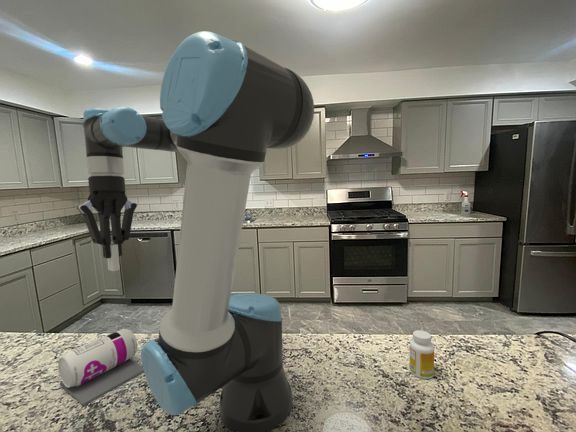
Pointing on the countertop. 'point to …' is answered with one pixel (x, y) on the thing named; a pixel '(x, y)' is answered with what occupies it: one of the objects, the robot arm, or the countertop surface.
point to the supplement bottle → (422, 355)
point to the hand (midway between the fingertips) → (113, 269)
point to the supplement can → (96, 357)
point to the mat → (104, 382)
